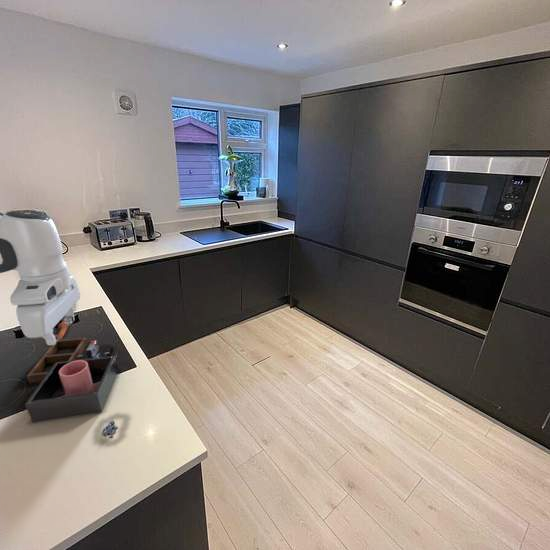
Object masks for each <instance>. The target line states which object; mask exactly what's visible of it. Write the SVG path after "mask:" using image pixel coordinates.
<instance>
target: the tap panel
mask: <svg viewBox="0 0 550 550" xmlns="http://www.w3.org/2000/svg"><path fill="white" fill-rule="evenodd" d="M113 347H114V346H113V344H111V343H110V344H100V345H98V349H99V350H98V352H97V353H96V355H95V357H94V358H99V357H109V356H112V353H113V350H114V348H113ZM87 348H88V346H86V347H85V349H84V350H83V352H82V354H81V355H80V356H77V357H79V358H78V360H81V359H88V356H87V352H86V350H87Z"/></svg>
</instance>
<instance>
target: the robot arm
mask: <svg viewBox="0 0 550 550" xmlns="http://www.w3.org/2000/svg"><path fill="white" fill-rule="evenodd" d="M63 250H64V249H63V243H62V240H61V237H60V234H59V232H58V229H57V226H56V224H55V223H54V221H53V219H52V218H51V217H50V216H49V215H48V214H45V213H43V212H40V211H36V210H27V209H24V210H21V209H20V210H19V209H18V210H11V211H6V212H5V213H3V212H0V274H2V273H6V272H10V271H16V272H17V273H18V276H19V280H18V283H17V285H16V287H15V289H14V290H13V292H12V293H11V294H10V297H9V300H10V303H11V305H12V306H16V312H15V313H16V317H17V320H18V323H19V326H20V329H21V331H22V333H23V335H24V336H25V337H26V338H28V339H38V338H43V339H44V340H45V343H46V345H47V346H52V345H55V344H56V343H57V341H58V337H57V334H54V333H53V332H54V328H55V327H56V326H58V324H59V322H60V321H61V320H62V319H63V321H65V324H69V325H72V324H73V323H74V322H75V320H76V319H75V316H74V315H75V305H76V304H77V303H78V301H80V298H81V293H80V292H81V291H80V289H79V286H78V283H77V280H76V278H75V276H73V275H72V274H71V272H70V271H69V268H68V265H67V263H66V261H65V259H64V256H63Z"/></svg>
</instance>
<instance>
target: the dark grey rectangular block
mask: <svg viewBox="0 0 550 550" xmlns="http://www.w3.org/2000/svg"><path fill="white" fill-rule="evenodd" d="M98 346H99V345H98V341H97V340H96V339H95V340H91V341H90V344H89V345H87V347H88V348H87V350H86V352H87V356H88V359H90V358H94V357H95V355H96V353H97V352H98V350H99V349H98Z"/></svg>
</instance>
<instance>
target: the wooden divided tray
mask: <svg viewBox="0 0 550 550" xmlns="http://www.w3.org/2000/svg"><path fill="white" fill-rule="evenodd" d="M88 346H89V345H88V339H87V337H79V338H68V339H61V340H58V341H57V343H56V344H55V345H50V347H49V348H48V349H47V350H46V352H45V353H44V354H43V356H42V357H41V358H40V359H39V360H38V362H36V364H35V365H34V366H33V367H32V369H31V370H30V371H29V373H28V374H27V375H26V378H27V381H28V384H36V383H38V384H39V383H41V382H42V381H43V379H44V378H45V376H46V375H47V374H48V372H49V371H44V372H43V370H45V368H46V366H48V365H52V364H53V365H54V364H55V363H56V362H63V361H72V360H78V358H79V357H77V356H80V355H81V354H82V352H83V350H84V349H85V347H88ZM66 348H67V349H68V348H75V349H74V351H73V352H68V353H58V354H57V352H58V351H59V350H60V349H66Z"/></svg>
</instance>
